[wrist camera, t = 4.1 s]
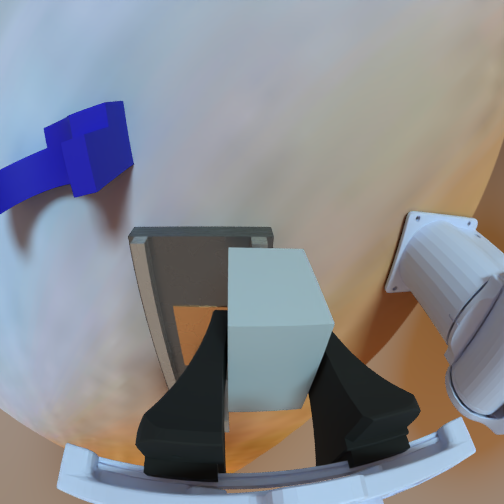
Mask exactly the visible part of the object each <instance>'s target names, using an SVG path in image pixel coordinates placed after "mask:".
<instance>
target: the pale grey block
mask: <svg viewBox="0 0 504 504" xmlns="http://www.w3.org/2000/svg"><path fill="white" fill-rule="evenodd" d="M333 327H334V321H333V319H332V316H331V314H330V311H329V309H328V306H327V304H326V301H325V299H324V296H323V294H322V292H321V289H320V287H319V284H318V282H317V280H316V277H315V275H314V273H313V270H312V268H311V266H310V263H309V261H308V259H307V256H306V254H305V252H304V250H303V249H280V248H232V247H229V249H228V412H257V411H277V410H291V409H301V408H302V406H303V403H304V401H305V399H306V397H307V394H308V392H309V390H310V387H311V385H312V382H313V380H314V377H315V375H316V372H317V370H318V367H319V365H320V362H321V360H322V357H323V354H324V352H325V349H326V346H327V344H328V341H329V338H330V335H331V332H332V330H333Z"/></svg>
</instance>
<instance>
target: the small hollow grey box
mask: <svg viewBox="0 0 504 504" xmlns="http://www.w3.org/2000/svg"><path fill="white" fill-rule="evenodd" d="M224 428H225V432H229V412H228V380H226V385H225V396H224Z"/></svg>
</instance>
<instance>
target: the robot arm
mask: <svg viewBox="0 0 504 504" xmlns="http://www.w3.org/2000/svg"><path fill="white" fill-rule="evenodd" d="M417 216H418V218H417V219H416V217H417ZM477 224H478V222H477V220H476V219H474V218H468V217H460V216H452V215H444V214H436V213H427V212H417V211H411V212H409V213H408V215H407V217H406V221H405V225H404V229H403V232H402V236H401V239H400V242H399V246H398V249H397V252H396V255H395V259H394V262H393V265H392V268H391V271H390V274H389V277H388V279H387V282H386V285H385V291H386V292H387V293H394V292H407V291H411V292H412V294H413V295H414V297H415V298H416V299H417V301H418V302H419V303H420V305H421V306H422V308H423V309H424V311H425V312H426V313H427V315H428V316H429V318H430V319H431V320H432V322H433V324H434V325H435V327H436V328H437V330H438V331H439V333H440V334H441V336H442V337H443V339H444V340H445V342H446V344H447V345H448V349H447V351H446V353H445V354H444V356H445V357H446V359H447V361H448V362H449V364H450V365H449V367H448V369H447V372H446V376H445V384H446V390H447V393H448V396H449V398H450V400H451V402H452V403H453V405H454V406H455V408H456V409H457V410H458V411H459V412H460V413H461V414H462V415H464V416H465V417H467V418H469V419H471V420H474V421H477V422H481V423H483V424H485V425H486V426H487V427H489V428H490V429H491V430H492V431H493V432H494V433H495V434H497V435H499V434H504V254H503V253H502V252H501V251H500V250H499V249H498V248H496V247H495V246H494V245H493V244H492V243H491V242H489V241H488V240H487V239H486V238H485V237H483V236H482V235H481V234H480V233H478V232H477V231H476V227H477ZM227 364H228V310H214V311H213V313H212V317H211V321H210V324H209V326H208V329H207V331H206V333H205V336H204V338H203V340H202V342H201V344H200V346H199V348H198V350H197V351H196V353H195V355H194V357H193V358H192V360H191V362H190V363H189V365H188V366H187V368H186V369H185V371H184V372H183V373H182V375H181V376H180V377H179V379H178V380H177V381H176V382H175V384H174V385H173V386H172V387H171V388H170V389H169V390H168V392H167V393H166V394H165V395H164V396H163V397H162V398H161V399H160V400H159V401H158V402H157V403H156V404H155V405H154V406H153V407H151V408H150V409H149V410H148V411H147V412H146V413H145V414H144V416H143V418H142V420H141V422H140V425H139V428H138V431H137V437H136V444H135V445H136V446H137V448H138V449H139V450H140V451H141V452H142V454H143V455H144V456H145V462H144V466H139V465H134V464H129V463H124V462H119V461H115V460H110V459H106V458H102V457H98V455H97V454H96V453H94V452H93V451H91V450H88V449H86V448H82V447H79V446H76V445H72V444H69V443H66V446H65V450H64V454H63V459H62V463H61V467H60V473H59V477H58V482H57V488H58V489H59V490H62V491H64V492H66V493H68V494H70V495H72V496H75V497H77V498H80V499H82V500H85V501H88V502H91V503H94V504H384V503H383V499H384V498H387V497H389V496H392V495H394V494H397V493H400V492H402V491H405V490H407V489H409V488H412V487H414V486H416V485H418V484H420V483H423V482H425V481H427V480H429V479H431V478H433V477H435V476H437V475H439V474H440V473H443V472H445V471H446V470H448V469H450V468H452V467H453V466H455V465H456V464H458V463H460V462H461V461H463V460H464V459H466V458H467V457H469V456H470V455H472V454H473V453H475V452H476V449H475V447H474V444H473V442H472V440H471V437H470V435H469V432H468V430H467V428H466V426H465V423H464V421H463V419H462V417H459V418H457V419H455V420H452V421H450V422H448V423H446V424H445V425H443V426H442V427H441V428H439V429H438V431H437V432H434V433H432V434H429V435H427V436H425V437H422V438H419V439H417V440H414V441H412V442H408V439H407V436H406V435H407V434H408V433H409V431H408V429H407V426H408V425H410V424H411V423H412V422H413V421H414V420H415V419H416V418H417V417H418V415H419V413H420V408H419V405H418V403H417V401H416V399H415V397H414V395H413V394H411V393H409V392H407V391H405V390H403V389H401V388H399V387H397V386H395V385H393V384H392V383H390V382H388V381H387V380H385V379H384V378H382V377H381V376H379V375H378V374H376V373H375V372H374V371H372V370H371V369H370V368H368V367H367V366H366V365H365V364H364V363H362V362H361V361H360V360H359V359H358V358H357V357H356V356H354V355H353V354H352V353H351V352H350V351H349V349H348V348H347V347H346V346H345V345H344V344H343V343H342V342H341V341H340V340H339V339H338V337H337V336H336V335H335V334H334V333H333V332H331V335H330V338H329V341H328V344H327V346H326V349H325V352H324V354H323V357H322V360H321V362H320V365H319V367H318V370H317V372H316V375H315V377H314V380H313V382H312V385H311V387H310V390H309V392H308V394H309V399H310V405H311V412H312V420H313V428H314V439H315V453H316V467H310V468H303V469H296V470H286V471H277V472H262V473H226V465H225V428H224V396H225V385H226V374H227ZM347 475H349V476H347ZM343 476H345V477H343ZM338 477H341V478H338ZM334 478H336V479H334ZM329 479H331V480H329ZM324 480H326V481H324ZM318 481H321V482H318ZM312 482H315V483H312ZM306 483H309V484H306ZM298 484H303V485H298ZM291 485H295V486H291ZM282 486H289V487H283V488H278V489H273V490H266V491H258V492H246V493H229V494H227V492H226V491H225V490H222V489H256V488H271V487H282Z"/></svg>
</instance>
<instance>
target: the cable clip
mask: <svg viewBox="0 0 504 504" xmlns="http://www.w3.org/2000/svg"><path fill="white" fill-rule="evenodd" d="M44 133H45V138H46V144H47V148H46V149H44V150H42V151H39V152H37V153H34V154H32V155H30V156H28V157H25V158H23V159H21V160H19V161H17V162H15V163H13V164H11V165H9V166H7V167H5V168H3V169H1V170H0V214H1V213H3V212H4V211H6V210H8V209H9V208H11V207H13V206H15V205H16V204H18V203H20V202H22V201H24V200H26V199H28V198H30V197H33V196H35V195H37V194H39V193H42V192H44V191H47V190H50V189H53V188H56V187H59V186H63V185H67V184H71V188H72V191H73V195H74V198H75V197H79V196H83V195H87V194H91V193H96V192H98V191H99V190H100V189H102V188H103V187H104V186H105V185H107V184H108V183H109V182H111V181H112V180H113V179H114V178H116V177H117V176H118V175H120V174H121V173H122V172H124V171H125V170H126V169H128V168H129V167H130V166H132V165H133V164H134V163H133V158H132V152H131V147H130V142H129V136H128V130H127V124H126V118H125V111H124V104H123V101H116V102H105V103H102V104H99V105H96V106H93V107H90V108H87V109H84V110H82V111H79V112H76V113H74V114H71V115H69V116H67V117H66V118H64V119H62V120H60V121H58V122H56V123H54V124H52V125H50V126H48V127H46V128H44Z"/></svg>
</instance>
